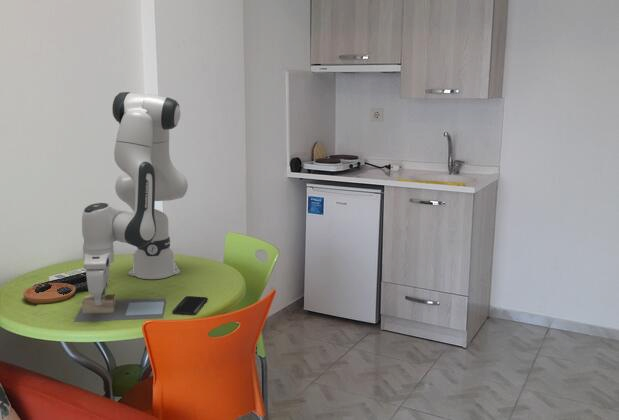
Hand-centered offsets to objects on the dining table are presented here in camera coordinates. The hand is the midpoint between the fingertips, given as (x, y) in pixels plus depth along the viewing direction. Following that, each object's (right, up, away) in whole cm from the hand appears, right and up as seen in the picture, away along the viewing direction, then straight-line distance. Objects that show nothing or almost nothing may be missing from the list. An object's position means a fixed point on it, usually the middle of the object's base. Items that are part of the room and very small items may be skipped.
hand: (100, 299), depth 190 cm
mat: (+6, -4, +3) cm, 8 cm away
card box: (-1, -4, +1) cm, 4 cm away
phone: (+26, -4, +8) cm, 28 cm away
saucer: (-21, -2, +13) cm, 25 cm away
